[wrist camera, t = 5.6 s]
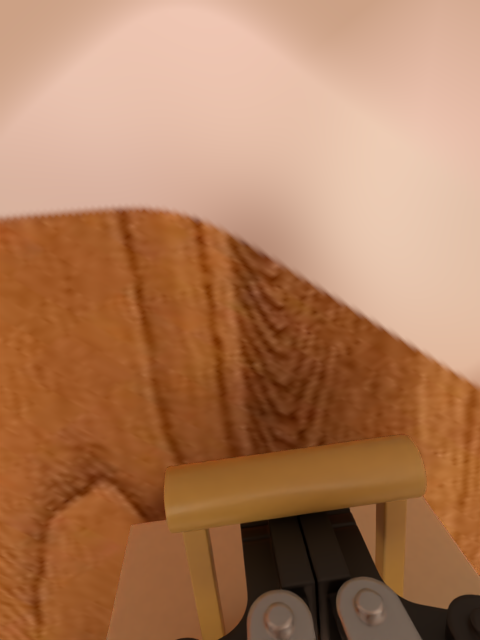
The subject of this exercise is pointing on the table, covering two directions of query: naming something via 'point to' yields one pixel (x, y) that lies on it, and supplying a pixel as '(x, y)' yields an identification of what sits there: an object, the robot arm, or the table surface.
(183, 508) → the drawer
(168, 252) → the table surface
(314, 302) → the table surface
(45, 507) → the table surface
